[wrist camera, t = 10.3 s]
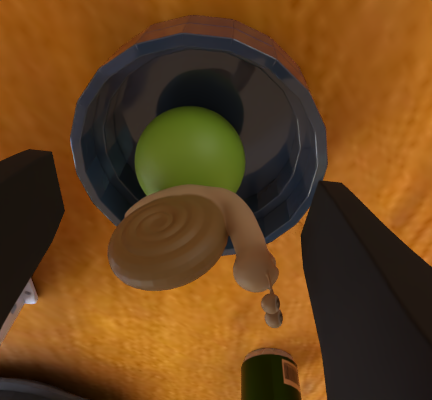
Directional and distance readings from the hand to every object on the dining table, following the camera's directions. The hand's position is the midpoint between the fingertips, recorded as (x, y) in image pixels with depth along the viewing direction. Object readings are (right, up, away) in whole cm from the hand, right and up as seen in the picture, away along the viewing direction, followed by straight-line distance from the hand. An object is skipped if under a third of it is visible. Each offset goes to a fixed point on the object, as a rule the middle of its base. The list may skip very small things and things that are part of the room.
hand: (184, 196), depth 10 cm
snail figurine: (0, +4, +10) cm, 11 cm away
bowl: (0, +4, +10) cm, 11 cm away
